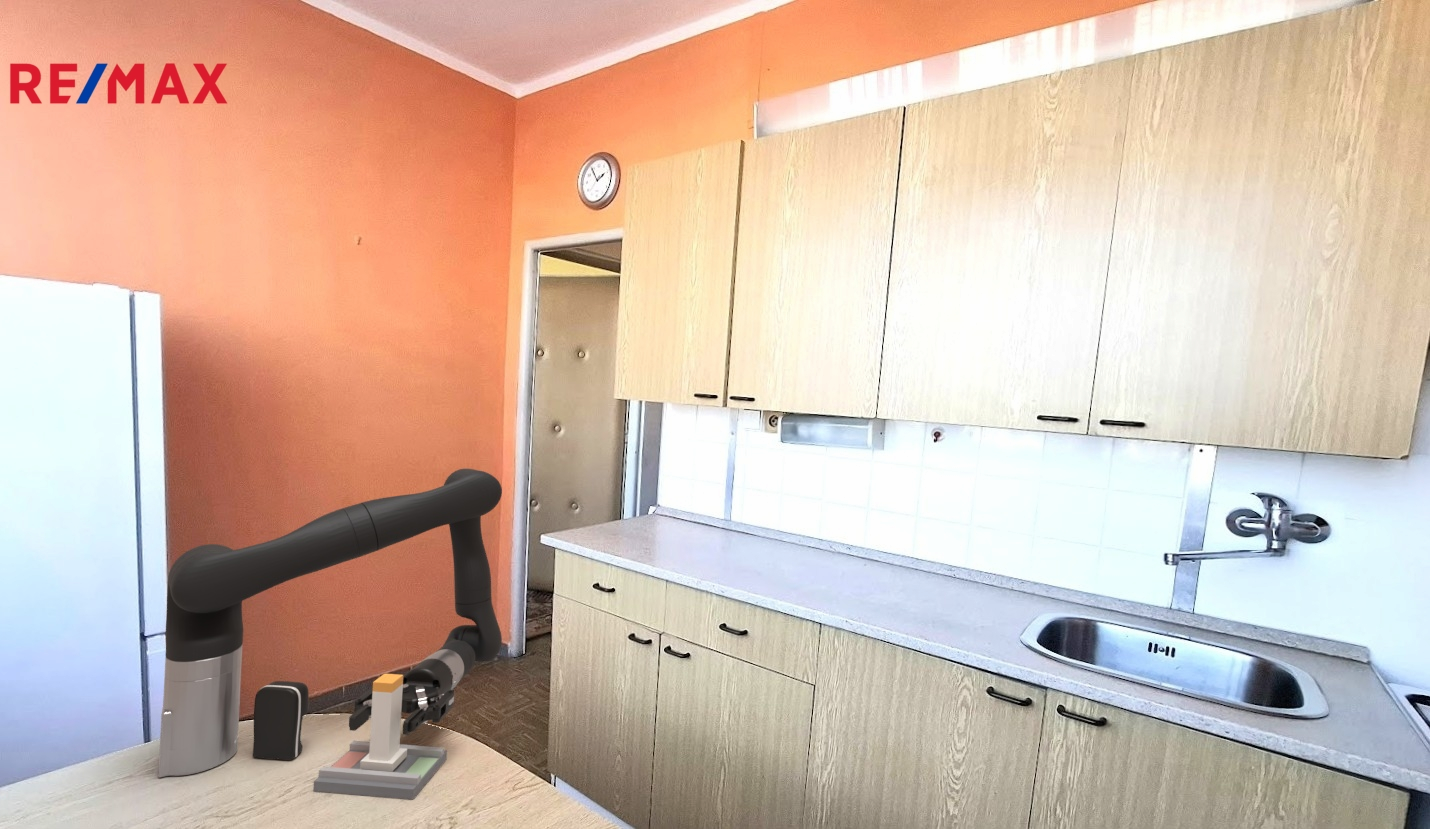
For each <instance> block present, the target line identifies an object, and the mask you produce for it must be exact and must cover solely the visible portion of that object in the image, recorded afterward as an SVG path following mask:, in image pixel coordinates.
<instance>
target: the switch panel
mask: <svg viewBox="0 0 1430 829" xmlns="http://www.w3.org/2000/svg"><path fill="white" fill-rule="evenodd" d="M399 748H405V749H407V757H406V758H405V759H404V760H403V761H402V762H401V763H400V764H399V765H398V766H397V767H396V768H395V769H394V770H393V771H392V772H391V771H379V770H367V769H360V761H361V760H362V759H363V758H364V757H365V756H366V755H368V754H369V749H370V741H365V740H364V741H363V740H352V741H351V743H349V750H347V751H346V753H345V754H343V755H342V756H341V757H340V758H339V759H338V760H336V762H334V763H332V764H331V766H322V767H321V768H319V770H318V777H317V778H315V779H314V780H313V789H312V791H313V792H319V793H329V792H330V793H332V794H340V793H342V794H341V795H353V796H354V795H355V796H364V797H365V796H366V797H379V798H388V799H389V798H391V799H400V800H414V799H415V798H416V796H418V794H419V793H420V791H422V790H423V788H424V787H426V785H427V783H428V782H429V781H430V780H431V779H432V778H433V776H434V775H435V774H436V773H437V771H438V770H439V769H440V768H441V767H442V766H443V765H444V763H445V762H446V761H447V758H448V757H447V756H448V754H447V753H448V750H445V747H440V746H438V747H436V746H427V745H413V744H401V743H400V747H399Z"/></svg>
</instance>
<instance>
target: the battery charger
mask: <svg viewBox="0 0 1430 829" xmlns="http://www.w3.org/2000/svg"><path fill="white" fill-rule="evenodd" d="M309 692H310V691H309V687H308V685H306V684H305V683H303V682H298V681H289V680H277V681H272V682H270V683H268V684H267V685H264V686H262V687H261V688H260V689H259V690H257V692H256V694H255V698H254V706H253V743H252V744H253V746H252V748H253V749H252V757H253V758H258V759H266V760H282V761H283V760H285V761H286V760H293V759H296V758H297V757H298V755H299V754H301V752H302V751H303V744H302V741H301V737H302V736H301V733H302V724H303V718H304V716H306V715H307V714H308V712H309V703H310V702H309V701H310V700H309V698H310V697H309V695H310V694H309Z"/></svg>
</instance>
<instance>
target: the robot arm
mask: <svg viewBox="0 0 1430 829" xmlns="http://www.w3.org/2000/svg"><path fill="white" fill-rule="evenodd" d="M502 495H503V488H502V485H501V483H500V481H499V480H498V479H497V478H496V477H495V476H494V475H492V474H491V473H489V472H486V471H485V470H484V471H483V470H478V469H474V468H461V469H458V470H455V471H453V472H452V473H450V475H448V476H447V478H446V480H444V483H443V485H442V486H438V487H437V488H436V487H435V488H433V489H430V490H427V491H423V492H417V493H409V494H402V495H393V496H388V497H380V498H375V499H374V498H373V499H371V500H366V501H361V502H360V503H355V504H352V505H350V506H346V507H342V508H340V509H336V510H334V511H331V512H328V513H326V514H323V515H322V516H319V517H317V518H315V519H313V520H312V521H310V522H308V523H306V524H304V525H302V526H300V527H298V528H297V529H295V530H293V531H291V532H289V533H287V534H284V535H283V536H280V537H277V538H275V539H271V540H268V541H265V542H261V543H257V544H254V545H250V546H249V545H248V546H246V547H242V548H238V549H233V548H230V547H228V546H227V545H222V544H215V543H214V544H213V543H212V544H211V543H210V544H203V545H199V546H196V547H193V548H191V549H189V550H187V551H185V552H184V553H183V554H180V556H179V557H178V558H177V559H176V560H175V561H174V563H173V564H172V565H171V568H170V570H169V573H168V579H167V593H166V595H167V596H166V613H165V614H166V616H165V617H166V620H165V658H164V659H165V661H164V662H165V663H164V680H163V681H164V683H163V699H162V703H163V704H162V710H161V716H160V719H161V720H160V735H159V736H160V737H159V738H160V739H159V752H158V753H159V754H158V755H159V758H158V773H157V774H158V776H157V777H158V778H163V777H168V776H172V777H174V776H176V777H177V776H178V777H179V776H186V775H187V776H188V775H194V774H197V773H201V772H204V771H208V770H210V769H213V768H215V767H218V766H220V765H221V764H224V763H226V762H227V761H228V760H230V759H231V758H232V757H234V755H235V754H236V753H237V752H238V744H239V743H238V741H239V718H240V702H241V699H240V698H241V682H242V680H241V679H242V663H243V662H242V660H243V642H244V624H243V622H244V621H243V608H242V607H243V601H245V600H247V599H250V598H252V597H254V596H256V595H258V594H261V593H262V592H265V591H268V590H269V589H272V588H273V587H277V586H278V585H281V584H283V583H286V582H288V581H291V580H294V579H297V578H300V577H302V576H305V575H309V574H312V573H315V572H318V571H323V570H324V569H328V568H330V567H333V566H338V565H339V564H342V563H345V562H348V561H352V560H355V559H358V558H360V557H364V556H366V555H369V554H372V553H375V552H377V551H380V550H382V549H385V548H388V547H391V546H393V545H395V544H398V543H401V542H404V541H407V540H409V539H411V538H414V537H416V536H419V535H421V534H424V533H425V532H428V531H430V530H433V529H437V528H439V527H442V526H447V525H448V526H449V532H450V533H449V535H450V538H451V540H450V541H451V548H452V558H453V559H452V560H453V570H454V571H453V578H454V580H453V583H454V610H455V613H456V615H457V616H459V617H461V618H463V619H464V618H465V619H466V620H467V619H468V620H471V621H472V622H473V623H474V624H462V625H458V626H455V627H454V628H453V629H452V630H450V631H449V633H448V636H447V638H446V640H445V641H444V643H443V645H442V646H441V647H440V648H439V649H438V650H436V651H435V652H433V653H432V654H430V655H428V656H427V657H426V658H424V659H423V660H421V662H419V663H418V664H417V665H416V666H414V667H413V668H412V669H410V670H409V671H407V673H406V674H404V675H403V690H402V709H401V713H405V714H410V715H408V716H407V718H405V719H404V721H403V722H402V735H403V736H408V735H410V734H411V733H413V732H415V731H416V730H417V729H418V728H420V727H421V725H423V724H426V723H428V721H431V722H432V723H434V724H435V723H436V724H437V723H439V722H441V720H442V719H444V717H445V716H446V714H448V713H449V711H450V710H452V709H453V707H454V704H455V703H454V702H455V690H453V689H455V687H456V686H457V685H458V684H459V682H460V681H461V680H462V679H463V678H464V677H465V676H466V675H468V674H469V672H470V671H471V670H472V668H473V667H474V665H475V662H489V661H492V660H494V659H495V658H496V657H497V656H498V655H499V653H500V650H501V649H502V642H503V638H502V631H501V628H500V625H499V623H498V620H497V615H496V613H495V610H494V606H493V603H492V577H491V576H492V575H491V569H490V564H489V560H488V557H487V556H488V555H487V552H486V549H485V545H484V541H483V536H482V535H483V534H482V526H481V523H482V522H481V521H482V519H481V518H482V516H484V515H487V514H489V512H491V511H492V510H494V509H495V508H496V507H497V505H498V504H499V502H500V500H501V498H502ZM372 692H373V686H372V687H371V688H370V689H368V690H366V691H365V692H363V693H362V694H361V695H360V696H358V697H357V698H355V699H354V712H353V713H352V714H351V715H350V716H349V718H348V727H349V731H353V732H355V731H357V730H358V729H360V727H361V726H363V725H364V724H365V723H366V722H368V721H369V720H370V719H371V711H372Z"/></svg>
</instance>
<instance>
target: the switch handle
mask: <svg viewBox="0 0 1430 829" xmlns="http://www.w3.org/2000/svg"><path fill="white" fill-rule="evenodd" d="M403 677H404V674H398V673H397V674H395V673H384V674H382V675H381V676H379V677H378V678H377V679H376V680H374V681H373V682H372V687H373V692H372V709H371V718H370V732H369V742H370V749H369V754H368V755H366V756H365V757H364V758H363V759H362V760H361V761H360V769H367V770H379V771H391V772H392V771H393V770H394V769H395V768H396V767H397V766H398V765H399V764H400V763H401V762H402V761H403V760H404V759H405V758H406V757H407V749H405V748H399V747H400V744H401V723H402V712H401V709H402V690H403Z"/></svg>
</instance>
